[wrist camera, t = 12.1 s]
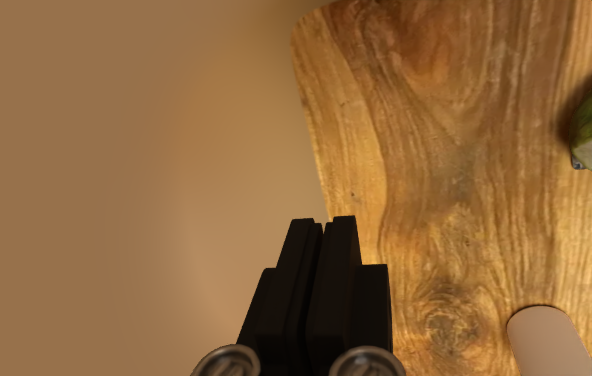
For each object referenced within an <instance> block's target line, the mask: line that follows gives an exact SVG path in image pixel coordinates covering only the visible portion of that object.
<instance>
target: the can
mask: <svg viewBox="0 0 592 376" xmlns="http://www.w3.org/2000/svg"><path fill="white" fill-rule="evenodd" d="M507 334H508V338H509V341H510V344H511V347H512V350H513V353H514V356H515V359H516V362H517V365H518V368H519V371H520V374H521V376H592V359H591V357H590V355H589V353H588V351H587V349H586V347H585V345H584V344H583V342H582V340H581V338H580V336H579V334H578V332H577V331H576V329H575V327H574V325H573V323H572V321H571V320H570V318H569V317H568V316H567V315H566V314H565V313H564V312H562V311H560V310H558V309H555V308H552V307H548V306H532V307H528V308H525V309H522V310H520V311H519V312H517V313H516V314H515V315H514V316H513V317H512V318H511V319H510V320H509V322H508V325H507Z"/></svg>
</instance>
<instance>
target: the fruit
mask: <svg viewBox="0 0 592 376" xmlns="http://www.w3.org/2000/svg"><path fill="white" fill-rule="evenodd" d="M568 135H569V145H570V149H571V152H572V153H573V154H572V162H573V168H574V169H588V170H590V171H592V89H591V90H590V91H589V92H588V93H587V94H586V95H585V97H584V98H583V99H582V101H581V102H580V104H579V105H578V107H577V109H576V111H575V113H574V115H573V117H572V120H571V123H570V127H569V132H568Z"/></svg>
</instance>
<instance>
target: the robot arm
mask: <svg viewBox="0 0 592 376" xmlns="http://www.w3.org/2000/svg"><path fill="white" fill-rule="evenodd" d="M190 376H406V372H405V370H404V368H403V365H402V363H401V362H400V361H399V360H398V359H397V358H396V356H395V355H393V338H392V312H391V297H390V286H389V276H388V267H387V264H372V265H362V260H361V253H360V245H359V238H358V231H357V224H356V218H355V215H353V216H336V217H334V218H333V222H327V223H326V226H325V231H324V234H323V229H322V225H321V223H315V222H314V219H313V218H304V219H293V220H292V221H291V224H290V227H289V230H288V233H287V236H286V239H285V242H284V245H283V248H282V251H281V254H280V257H279V260H278V263H277V266H276V268H266V269H264V271H263V272H262V275H261V278H260V280H259V283H258V285H257V288H256V291H255V294H254V296H253V299H252V302H251V304H250V307H249V310H248V312H247V315H246V318H245V321H244V323H243V326H242V329H241V331H240V334H239V337H238V339H237V342H236V344H230V345H226V346H222V347H219V348H217V349H215V350H213V351H211V352H210V353H208V354H207V355H206V356H205V357H203V358H202V359H201V361H200V362H199V363H198V364H197V366H196V367H195V369H194V370H193V372H192V373H191V375H190Z"/></svg>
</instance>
